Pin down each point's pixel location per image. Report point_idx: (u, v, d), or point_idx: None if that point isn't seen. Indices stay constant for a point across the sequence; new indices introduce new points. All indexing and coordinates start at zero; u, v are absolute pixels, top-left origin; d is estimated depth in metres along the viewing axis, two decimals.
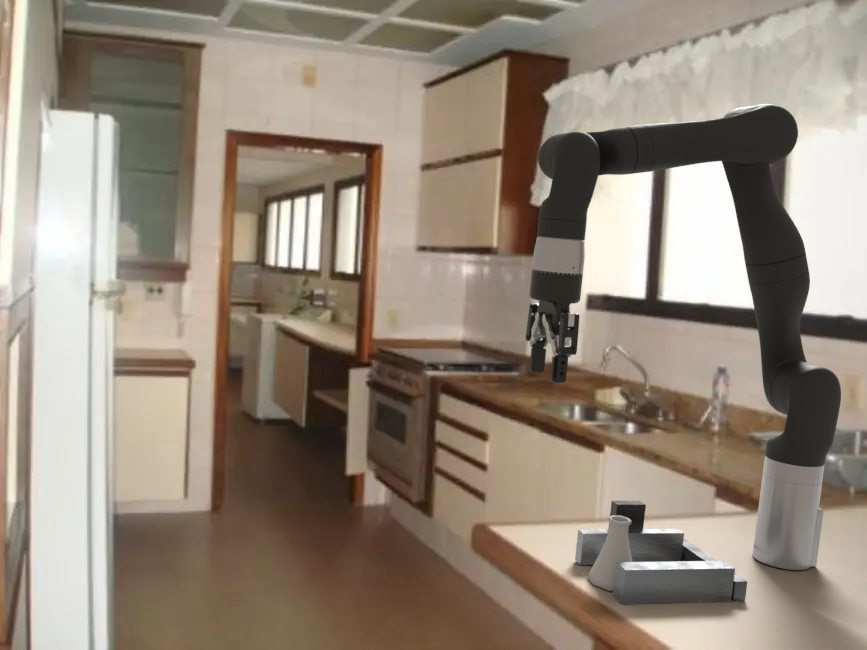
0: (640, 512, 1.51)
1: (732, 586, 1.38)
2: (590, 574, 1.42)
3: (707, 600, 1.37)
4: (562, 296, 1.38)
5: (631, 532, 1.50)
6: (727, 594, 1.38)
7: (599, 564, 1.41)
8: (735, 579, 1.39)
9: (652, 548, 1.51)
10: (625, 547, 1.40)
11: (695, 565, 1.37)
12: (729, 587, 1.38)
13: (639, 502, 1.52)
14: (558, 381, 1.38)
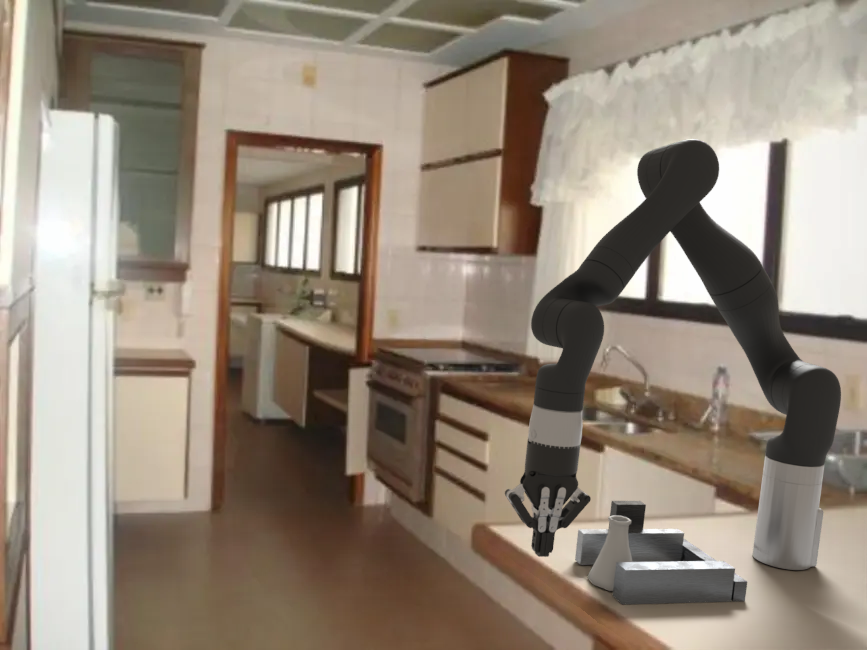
0: (640, 512, 1.51)
1: (732, 586, 1.38)
2: (590, 574, 1.42)
3: (707, 600, 1.37)
4: None
5: (631, 532, 1.50)
6: (727, 594, 1.38)
7: (599, 564, 1.41)
8: (735, 579, 1.39)
9: (652, 548, 1.51)
10: (625, 547, 1.40)
11: (695, 565, 1.37)
12: (729, 587, 1.38)
13: (639, 502, 1.52)
14: None
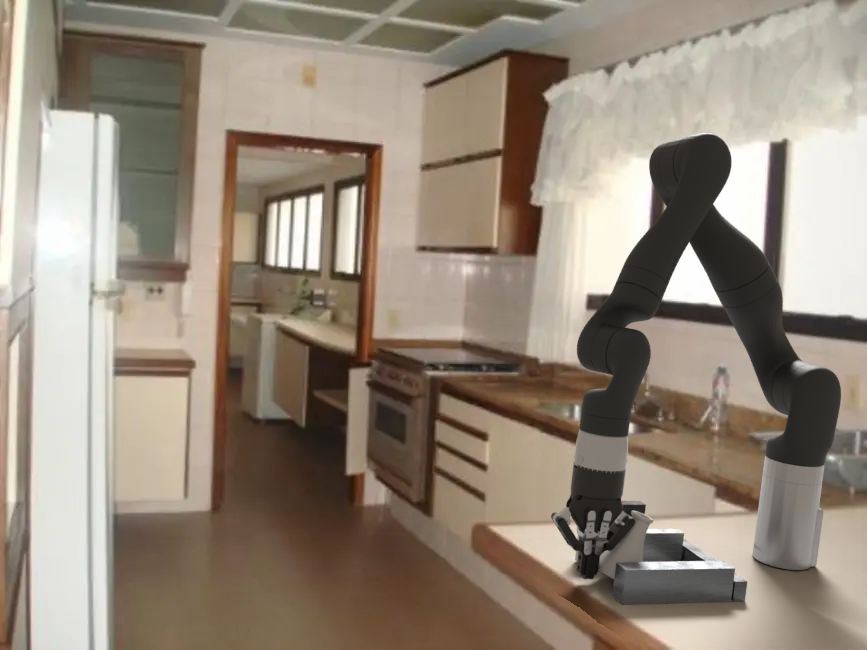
0: (640, 512, 1.51)
1: (732, 586, 1.38)
2: None
3: (707, 600, 1.37)
4: None
5: None
6: (727, 594, 1.38)
7: (610, 554, 1.41)
8: (735, 579, 1.39)
9: (652, 548, 1.51)
10: (640, 543, 1.40)
11: (695, 565, 1.37)
12: (729, 587, 1.38)
13: (639, 502, 1.52)
14: None
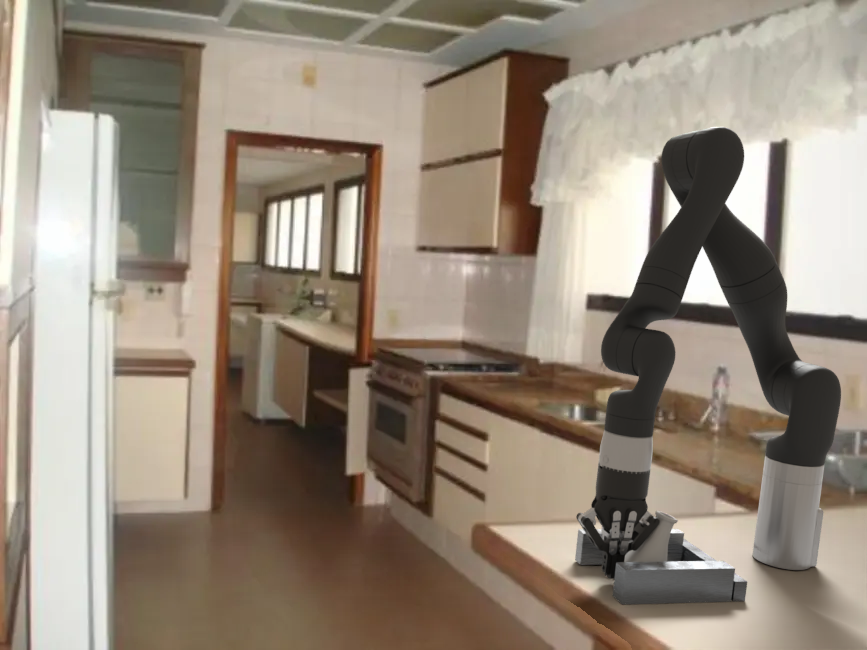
0: None
1: (732, 586, 1.38)
2: None
3: (707, 600, 1.37)
4: None
5: None
6: (727, 594, 1.38)
7: (634, 553, 1.42)
8: (735, 579, 1.39)
9: None
10: (665, 543, 1.41)
11: (695, 565, 1.37)
12: (729, 587, 1.38)
13: None
14: None
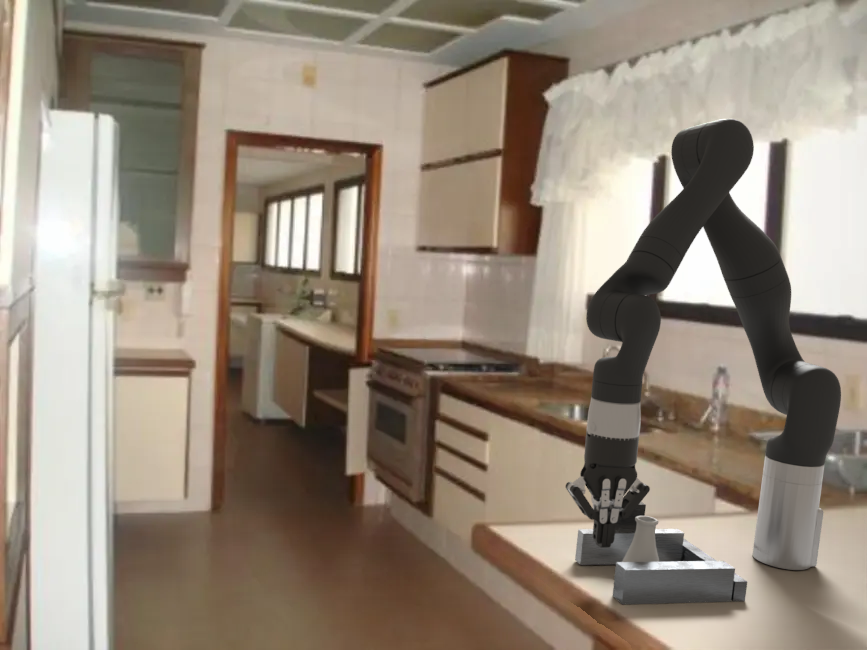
0: (640, 512, 1.51)
1: (732, 586, 1.38)
2: None
3: (707, 600, 1.37)
4: None
5: (631, 532, 1.50)
6: (727, 594, 1.38)
7: None
8: (735, 579, 1.39)
9: None
10: (652, 547, 1.41)
11: (695, 565, 1.37)
12: (729, 587, 1.38)
13: None
14: None
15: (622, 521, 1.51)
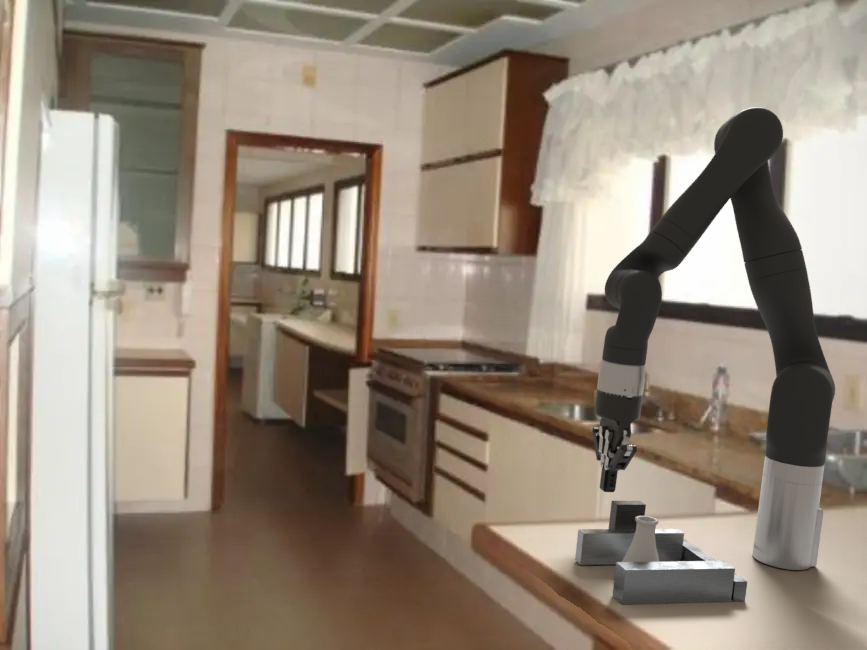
0: (640, 512, 1.51)
1: (732, 586, 1.38)
2: None
3: (707, 600, 1.37)
4: None
5: (631, 532, 1.50)
6: (727, 594, 1.38)
7: None
8: (735, 579, 1.39)
9: None
10: (652, 547, 1.41)
11: (695, 565, 1.37)
12: (729, 587, 1.38)
13: (639, 502, 1.52)
14: None
15: (622, 521, 1.51)
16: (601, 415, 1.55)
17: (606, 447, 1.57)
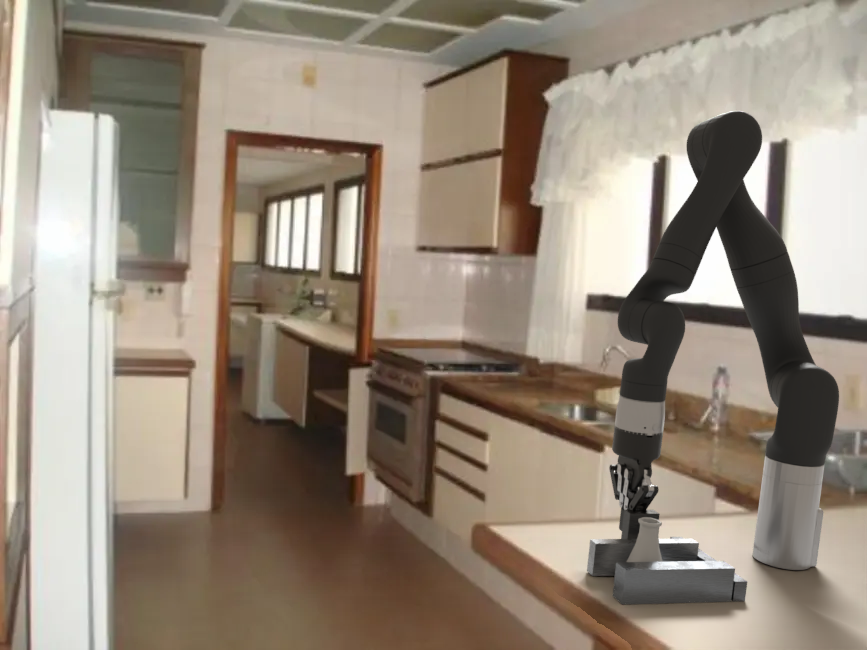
0: None
1: (732, 586, 1.38)
2: None
3: (707, 600, 1.37)
4: None
5: None
6: (727, 594, 1.38)
7: None
8: (735, 579, 1.39)
9: (666, 558, 1.46)
10: (655, 549, 1.40)
11: (695, 565, 1.37)
12: (729, 587, 1.38)
13: (652, 511, 1.48)
14: None
15: (635, 530, 1.46)
16: (620, 454, 1.48)
17: (625, 487, 1.49)
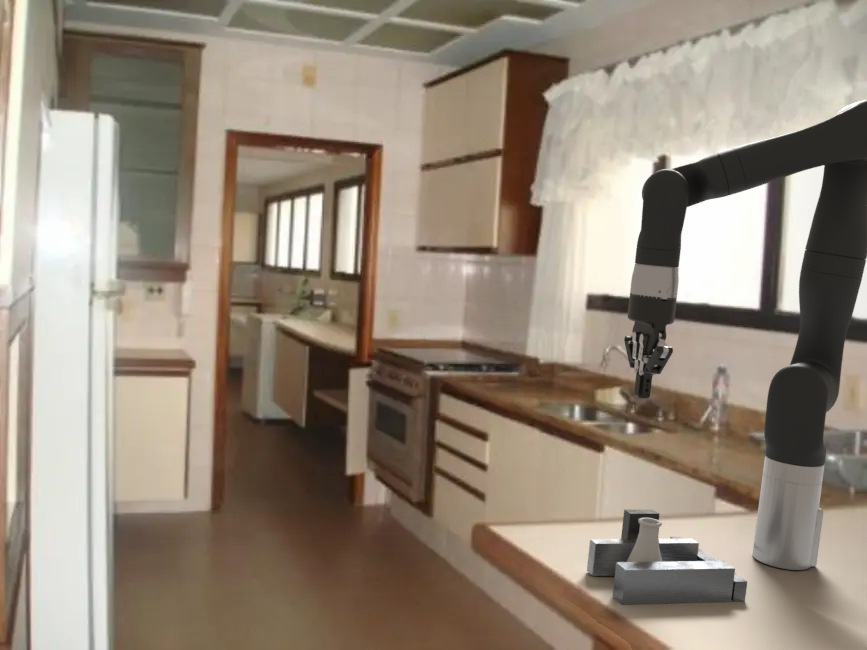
0: None
1: (732, 586, 1.38)
2: None
3: (707, 600, 1.37)
4: None
5: None
6: (727, 594, 1.38)
7: None
8: (735, 579, 1.39)
9: (666, 558, 1.46)
10: (655, 549, 1.40)
11: (695, 565, 1.37)
12: (729, 587, 1.38)
13: (652, 511, 1.48)
14: None
15: (635, 530, 1.46)
16: (635, 318, 1.54)
17: (641, 352, 1.55)
